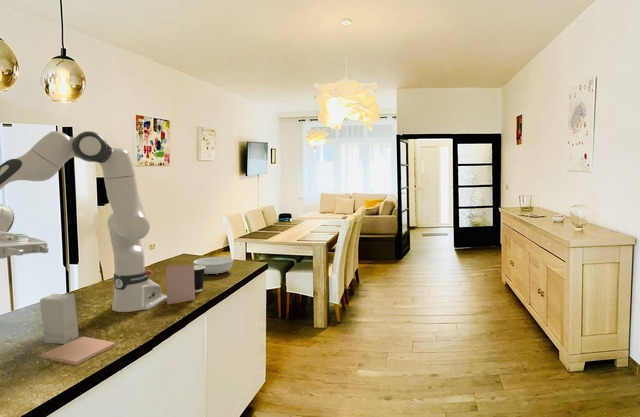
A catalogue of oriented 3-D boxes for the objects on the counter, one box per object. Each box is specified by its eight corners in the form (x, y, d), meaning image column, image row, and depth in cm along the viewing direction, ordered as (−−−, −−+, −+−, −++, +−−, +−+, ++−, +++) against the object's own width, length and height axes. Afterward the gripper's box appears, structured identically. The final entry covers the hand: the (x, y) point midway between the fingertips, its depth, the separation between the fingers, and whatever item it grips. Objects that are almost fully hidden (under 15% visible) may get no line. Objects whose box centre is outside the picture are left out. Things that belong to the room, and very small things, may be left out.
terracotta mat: (82, 339, 136) (82, 336, 136) (115, 345, 131) (115, 342, 131) (41, 357, 123) (41, 354, 123) (76, 365, 118) (76, 361, 118)
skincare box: (79, 337, 137) (76, 294, 136) (64, 345, 131) (62, 299, 130) (57, 335, 139) (54, 292, 137) (42, 343, 133) (39, 298, 131)
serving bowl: (239, 269, 232) (239, 257, 231) (222, 278, 211) (222, 265, 211) (205, 267, 236) (205, 255, 236) (186, 276, 216) (185, 263, 215)
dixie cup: (209, 290, 191) (208, 267, 190) (193, 294, 185) (192, 270, 184) (200, 287, 196) (199, 264, 195) (184, 290, 191) (183, 267, 190)
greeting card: (195, 299, 178) (194, 264, 177) (189, 304, 171) (188, 269, 169) (169, 298, 178) (168, 264, 177) (162, 304, 171) (161, 268, 170)
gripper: (-30, 236, 129) (5, 244, 126) (29, 234, 149) (60, 240, 146) (-33, 256, 129) (2, 264, 126) (26, 251, 149) (58, 258, 146)
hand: (34, 251), depth 136 cm, fingers open, 8 cm apart
